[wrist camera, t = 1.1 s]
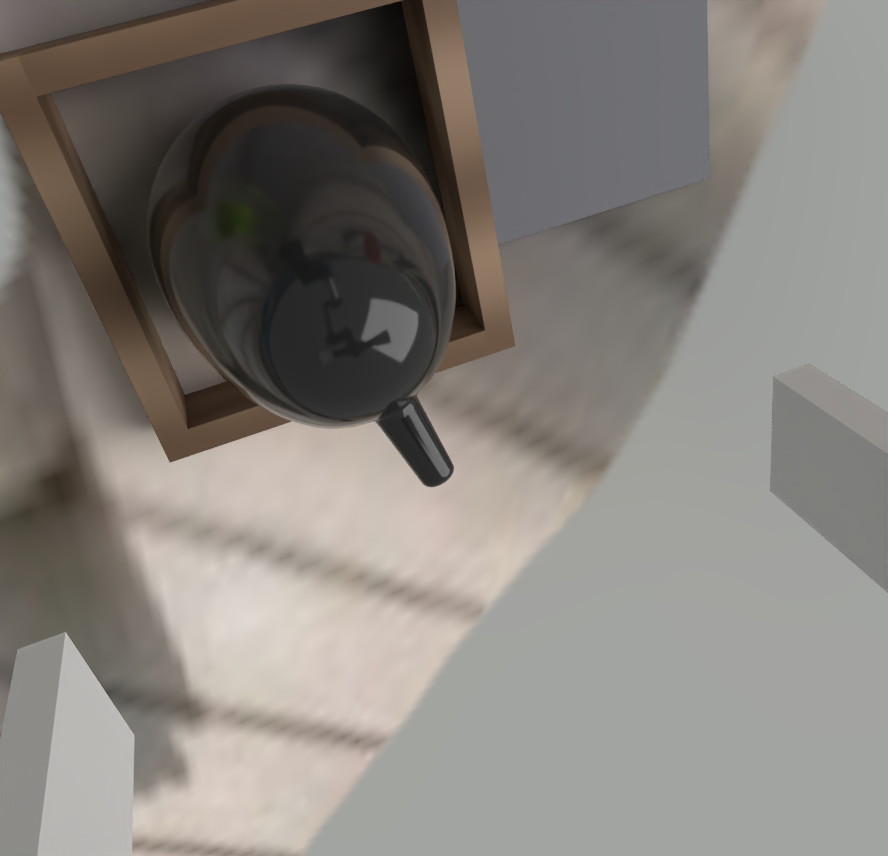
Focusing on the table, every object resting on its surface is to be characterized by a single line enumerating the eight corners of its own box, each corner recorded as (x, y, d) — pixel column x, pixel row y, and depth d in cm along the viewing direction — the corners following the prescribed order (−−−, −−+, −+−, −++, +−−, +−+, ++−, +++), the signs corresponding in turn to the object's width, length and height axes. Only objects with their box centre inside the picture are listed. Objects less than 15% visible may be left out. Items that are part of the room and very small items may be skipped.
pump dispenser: (249, 371, 36) (304, 599, 23) (87, 162, 30) (44, 319, 17) (446, 248, 36) (606, 411, 23) (323, 15, 30) (450, 66, 17)
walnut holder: (-7, 55, 27) (-22, 66, 25) (422, -54, 30) (447, -54, 27) (168, 426, 36) (169, 462, 33) (491, 320, 38) (515, 345, 36)
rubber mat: (428, -65, 30) (432, -65, 29) (697, -133, 31) (704, -134, 31) (484, 244, 36) (487, 248, 36) (703, 175, 38) (709, 177, 37)
